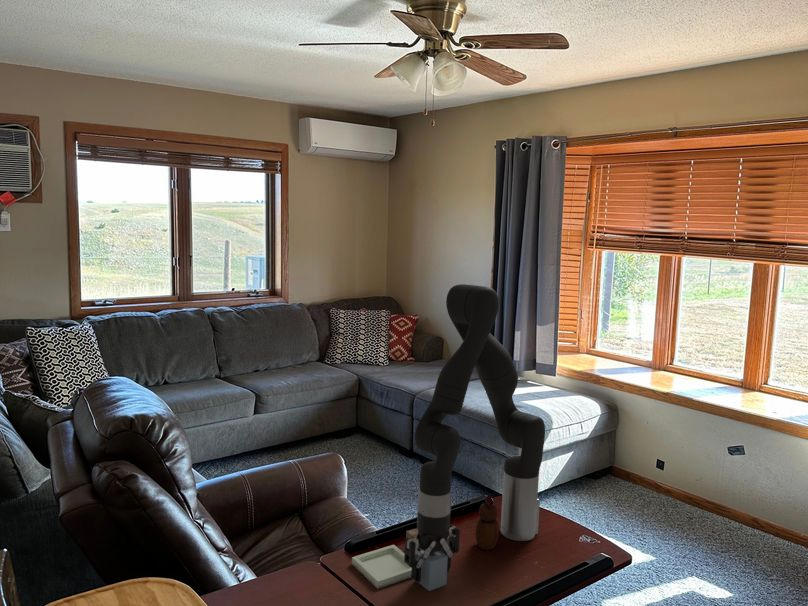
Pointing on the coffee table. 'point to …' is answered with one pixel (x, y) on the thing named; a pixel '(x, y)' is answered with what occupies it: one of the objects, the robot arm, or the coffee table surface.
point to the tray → (383, 566)
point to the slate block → (434, 570)
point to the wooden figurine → (487, 525)
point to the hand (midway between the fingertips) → (431, 575)
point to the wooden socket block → (414, 533)
